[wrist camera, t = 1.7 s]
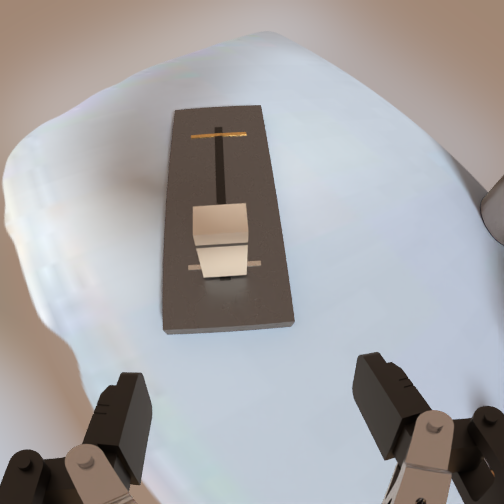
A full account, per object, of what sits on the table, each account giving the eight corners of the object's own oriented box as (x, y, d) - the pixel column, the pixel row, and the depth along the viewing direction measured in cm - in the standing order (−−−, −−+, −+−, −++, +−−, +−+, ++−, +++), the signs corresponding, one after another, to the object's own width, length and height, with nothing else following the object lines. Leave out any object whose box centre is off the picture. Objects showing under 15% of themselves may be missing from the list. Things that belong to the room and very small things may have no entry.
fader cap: (246, 275, 31) (248, 231, 23) (203, 277, 30) (192, 235, 23) (244, 250, 32) (246, 202, 25) (202, 253, 31) (192, 206, 24)
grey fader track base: (291, 326, 31) (294, 320, 29) (167, 334, 30) (162, 329, 28) (260, 115, 44) (260, 104, 42) (177, 120, 43) (175, 109, 41)
